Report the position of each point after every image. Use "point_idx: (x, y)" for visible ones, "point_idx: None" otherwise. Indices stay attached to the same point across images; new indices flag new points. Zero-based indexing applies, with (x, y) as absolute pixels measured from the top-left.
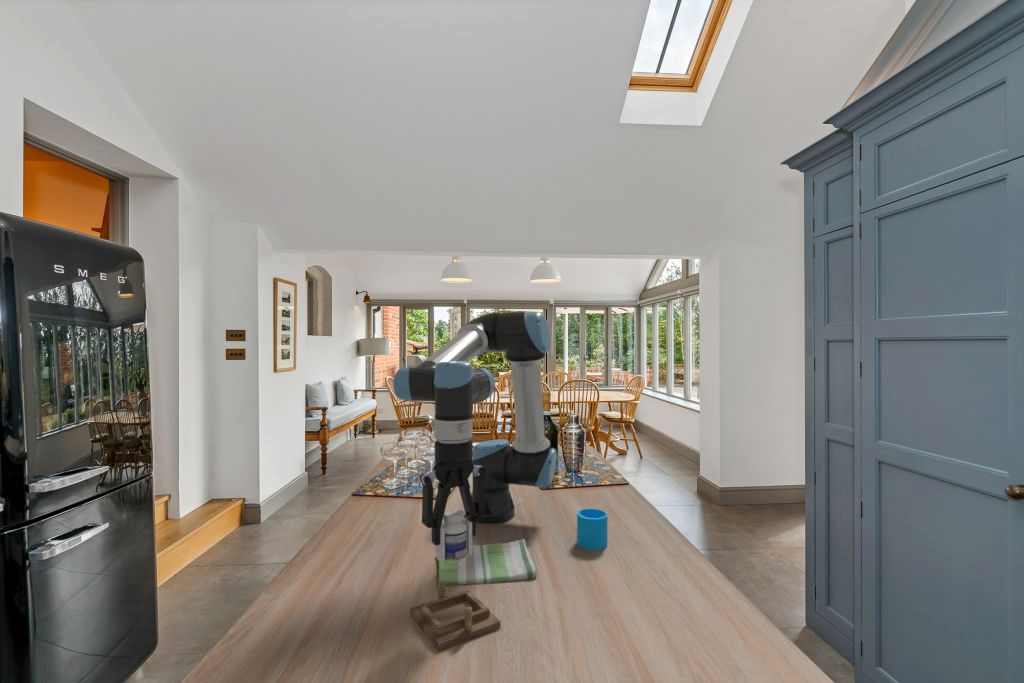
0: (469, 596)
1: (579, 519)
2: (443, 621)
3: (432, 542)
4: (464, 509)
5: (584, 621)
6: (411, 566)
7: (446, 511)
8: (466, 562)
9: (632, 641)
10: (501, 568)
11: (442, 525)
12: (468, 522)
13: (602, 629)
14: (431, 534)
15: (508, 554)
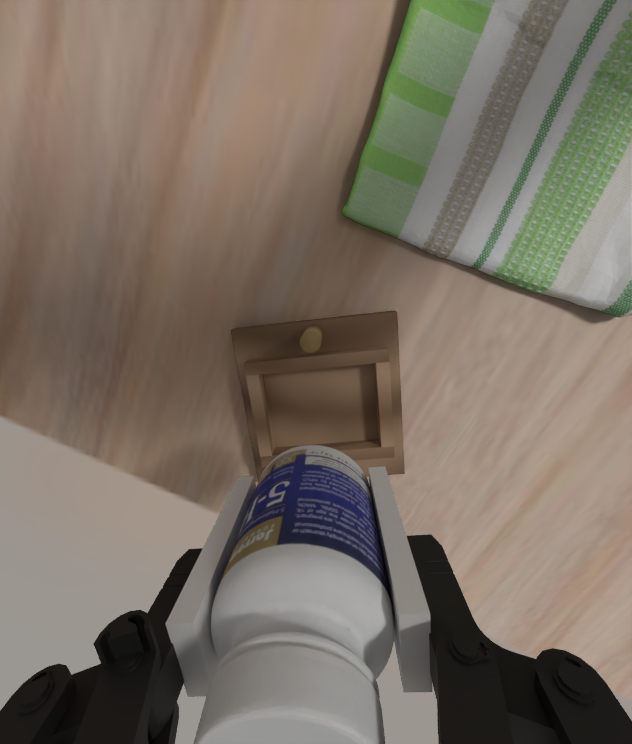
0: (377, 381)
1: None
2: (290, 418)
3: (186, 556)
4: (439, 723)
5: (567, 523)
6: (299, 15)
7: (230, 730)
8: (482, 117)
9: (592, 602)
10: (562, 228)
11: (216, 635)
12: (404, 687)
13: (576, 556)
14: (158, 595)
15: None
